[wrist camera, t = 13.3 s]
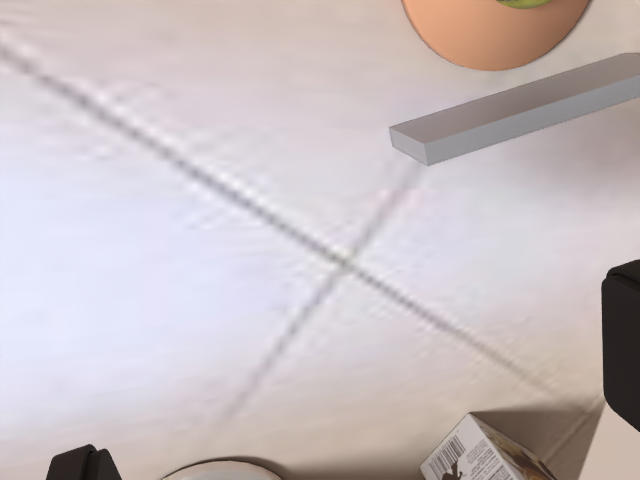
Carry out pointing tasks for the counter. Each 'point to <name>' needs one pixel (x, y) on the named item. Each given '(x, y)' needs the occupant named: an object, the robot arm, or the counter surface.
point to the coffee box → (482, 456)
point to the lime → (523, 3)
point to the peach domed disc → (491, 30)
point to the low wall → (519, 110)
